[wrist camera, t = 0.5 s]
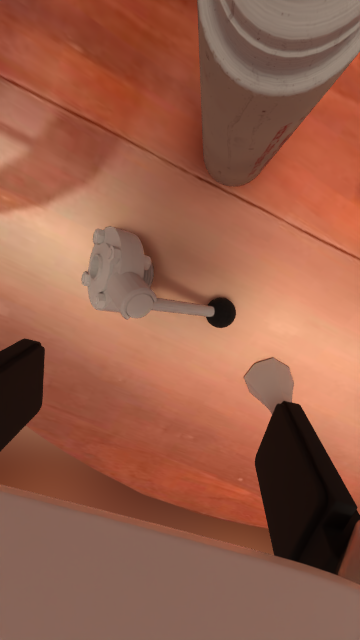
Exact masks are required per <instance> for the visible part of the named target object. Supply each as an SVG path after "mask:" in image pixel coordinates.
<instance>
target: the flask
mask: <svg viewBox="0 0 360 640" xmlns="http://www.w3.org/2000/svg"><path fill="white" fill-rule="evenodd" d="M244 379H245V381H246V384H247V386H248V389H249V392H250V393H251V394H252V395H253V396H255V397H256V398H257V399H258V400H260V401H261V402H262V403H263V404H264V405H265V406H266V407H267V408H268V409H269V410H270V412H271V413H272V414H273V412H274V409H275V407H276V405H277V404H278V403H279V404H281V403H282V402H283V401H287V402H291V403H292V394H293V387H294V382H293V379H292V376H291V373H290V369H289V367H288V366H286V365H284V364H283V363H281V362H279V361H278V360H276V359H274V358H271V359H268V360H265V361H261V362H258V363H255V364H254V365H253V366H252V368H251V369H250V370H249V372H248V373H247V374H246V375H245V377H244Z"/></svg>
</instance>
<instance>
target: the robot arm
mask: <svg viewBox="0 0 360 640" xmlns="http://www.w3.org/2000/svg"><path fill="white" fill-rule="evenodd" d="M44 354H45V349H44V347H42V346H41V343H40V342H37V341H33V340H29V339H22V340H20V341H18V342H17V343H15V344H13V345H11V346H9V347H8V348H6V349H4V350H2V351H0V451H1V450H2V449H3V448H4V447H5V446H6V445H7V444H8V443H9V442H10V441H11V440H12V439H13V438H14V437H15V436H16V435H17V434H18V433H19V431H20V430H21V429H22V428H23V427H24V426H25V425H26V424H27V423H28V422H29V421H30V420H31V419H32V418H33V417H34V416H35V415H36V414H37V413H38V412H39V410H40V408H41V406H42V397H43V375H44ZM255 467H256V472H257V477H258V481H259V486H260V491H261V495H262V500H263V505H264V509H265V514H266V519H267V523H268V528H269V533H270V537H271V542H272V547H273V551H274V555H271V554H267V553H263V552H260V551H256V550H253V549H249V548H246V547H242V546H238V545H234V544H230V543H226V542H223V541H219V540H215V539H212V538H208V537H204V536H200V535H196V534H192V533H189V532H185V531H181V530H177V529H173V528H170V527H166V526H162V525H158V524H154V523H151V522H147V521H143V520H139V519H135V518H131V517H127V516H123V515H119V514H115V513H111V512H108V511H104V510H100V509H96V508H92V507H88V506H84V505H80V504H77V503H72V502H69V501H65V500H61V499H57V498H53V497H49V496H45V495H41V494H37V493H33V492H29V491H25V490H21V489H17V488H13V487H9V486H5V485H1V484H0V640H360V515H359V513H358V511H357V510H356V509H357V506H356V504H355V502H354V500H353V499H352V497H351V495H350V493H349V491H348V490H347V488H346V486H345V484H344V482H343V481H342V479H341V477H340V475H339V474H338V472H337V470H336V468H335V466H334V465H333V463H332V461H331V459H330V457H329V456H328V454H327V452H326V450H325V449H324V447H323V445H322V443H321V441H320V440H319V438H318V436H317V434H316V432H315V431H314V429H313V427H312V425H311V424H310V422H309V420H308V418H307V416H306V415H305V413H304V411H303V409H302V407H301V406H300V405H299V404H296V403H291V402H287V401H283V402H282V403H281V404H279V403H278V404H277V405H276V407H275V409H274V412H273V414H272V417H271V419H270V422H269V424H268V427H267V429H266V432H265V434H264V437H263V439H262V442H261V444H260V447H259V449H258V452H257V454H256V458H255Z"/></svg>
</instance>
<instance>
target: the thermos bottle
mask: <svg viewBox="0 0 360 640" xmlns="http://www.w3.org/2000/svg"><path fill="white" fill-rule="evenodd" d="M197 4H198V30H199V57H200V83H201V109H202V135H203V156H204V162H205V165H206V168H207V170H208V172H209V174H210V175H211V176H212V177H213V178H214V179H215V180H216V181H217V182H219V183H221V184H223V185H227V186H240V185H244V184H246V183H248V182H250V181H251V180H253V179H254V178H255V177H256V176H257V175H258V174H259V173H260V172H261V171H262V170H263V168H264V167H265V166H266V165H267V164H268V162H269V161H270V160H271V159H272V158H273V156H274V155H275V154H276V153H277V151H278V150H279V149H280V148H281V147H282V145H283V144H284V143H285V142H286V141H287V139H288V138H289V137H290V136H291V135H292V133H293V132H294V131H295V130H296V128H297V127H298V126H299V125H300V124H301V122H302V121H303V120H304V119H305V118H306V116H307V115H308V114H309V113H310V112H311V110H312V109H313V108H314V107H315V105H316V104H317V103H318V102H319V101H320V99H321V98H322V97H323V96H324V95H325V93H326V92H327V91H328V90H329V89H330V87H331V86H332V85H333V84H334V82H335V81H336V80H337V79H338V78H339V76H340V75H341V74H342V73H343V72H344V70H345V69H346V68H347V67H348V66H349V64H350V63H351V62H352V61H353V59H354V58H355V57H356V56H357V54H358V53H359V52H360V0H197Z"/></svg>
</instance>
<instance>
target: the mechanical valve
mask: <svg viewBox="0 0 360 640" xmlns="http://www.w3.org/2000/svg"><path fill="white" fill-rule="evenodd" d="M93 242H94V247H93V250H92V253H91V257H90V262H89V268H88V272H87V271H85V272H84V273H83V275H82V284H83V286H88V294H89V298H90V302H91V304H92V306H93V307H94V308H95V309H96V310H102V311H112V312H120V313H121V314H122V316H123V317H124V318H125V319H129V318H130V317H132V318H141V317H144V316H145V315H147V314H148V313H149V312H150V311H151V310H156V311H164V312H173V313H181V314H190V315H199V316H206V318H207V320H208V322H209V323H210V324H211V325H213V326H215V327H218V328H223V327H227V326H229V325H230V324H231V323H232V322H233V321H234V319H235V316H236V310H235V307H234V305H233V303H232V302H231V301H229V300H228V299H225V298H217V299H214V300H212V301H211V302H210V303H209V304H208V306H207V305H200V304H194V303H187V302H180V301H174V300H167V299H160V298H157V297H156V295H155V293H154V292H153V291H152V290H151V288H150V286H151V284H152V281H153V276H154V271H153V264H152V262H151V258H150V257H149V256H146V255H144V251H143V246H142V243H141V241H140V239H139V238H138V236H137V235H135V234H133V233H130V232H127V231H124V230H121V229H118V228H115V227H111V226H109V227H106V228H105V229H104V230H101V229H96V230H95V232H94V235H93ZM129 316H130V317H129Z"/></svg>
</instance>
